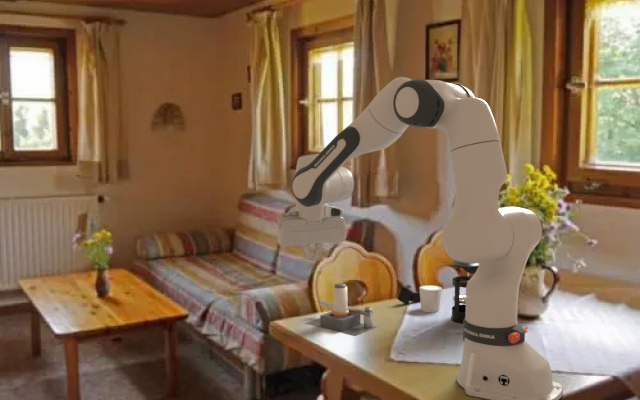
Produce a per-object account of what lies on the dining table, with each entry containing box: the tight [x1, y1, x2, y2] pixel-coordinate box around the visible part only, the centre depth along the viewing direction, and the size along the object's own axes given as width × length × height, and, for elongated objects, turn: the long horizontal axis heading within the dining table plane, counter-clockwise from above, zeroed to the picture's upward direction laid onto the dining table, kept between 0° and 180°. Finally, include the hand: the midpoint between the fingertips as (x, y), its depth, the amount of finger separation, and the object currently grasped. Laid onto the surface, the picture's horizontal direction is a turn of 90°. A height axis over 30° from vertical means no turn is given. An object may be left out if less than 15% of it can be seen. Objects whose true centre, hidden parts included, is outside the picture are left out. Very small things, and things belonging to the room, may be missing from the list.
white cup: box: [419, 284, 443, 313], centre depth 208 cm, size 7×7×7 cm
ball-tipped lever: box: [319, 300, 373, 316], centre depth 193 cm, size 18×2×2 cm, turn 50°
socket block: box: [304, 310, 377, 337], centre depth 190 cm, size 18×10×4 cm, turn 50°
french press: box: [450, 260, 480, 325], centre depth 196 cm, size 12×9×23 cm
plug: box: [331, 282, 349, 318], centre depth 189 cm, size 5×5×12 cm
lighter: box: [396, 284, 421, 305], centre depth 215 cm, size 9×2×6 cm
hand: (312, 259), depth 192 cm, fingers closed
